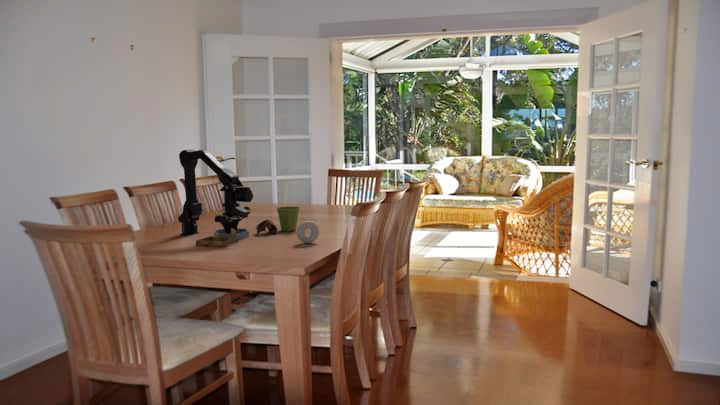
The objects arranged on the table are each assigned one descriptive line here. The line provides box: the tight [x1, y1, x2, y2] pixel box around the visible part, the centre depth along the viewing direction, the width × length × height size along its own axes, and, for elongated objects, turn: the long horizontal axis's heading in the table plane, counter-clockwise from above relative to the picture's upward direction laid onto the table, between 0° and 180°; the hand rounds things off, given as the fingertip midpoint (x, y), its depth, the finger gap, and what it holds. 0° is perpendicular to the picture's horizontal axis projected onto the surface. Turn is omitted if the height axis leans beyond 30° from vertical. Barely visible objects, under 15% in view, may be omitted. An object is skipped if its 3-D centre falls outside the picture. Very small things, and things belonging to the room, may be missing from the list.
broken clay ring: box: [255, 219, 279, 235], centre depth 282 cm, size 12×10×8 cm
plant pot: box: [275, 205, 301, 232], centre depth 294 cm, size 12×12×11 cm
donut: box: [296, 220, 320, 244], centre depth 260 cm, size 10×4×10 cm, turn 111°
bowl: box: [213, 227, 250, 240], centre depth 273 cm, size 15×15×3 cm
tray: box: [195, 235, 239, 249], centre depth 258 cm, size 14×11×2 cm
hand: (231, 235), depth 273 cm, fingers closed on ball, 4 cm apart
